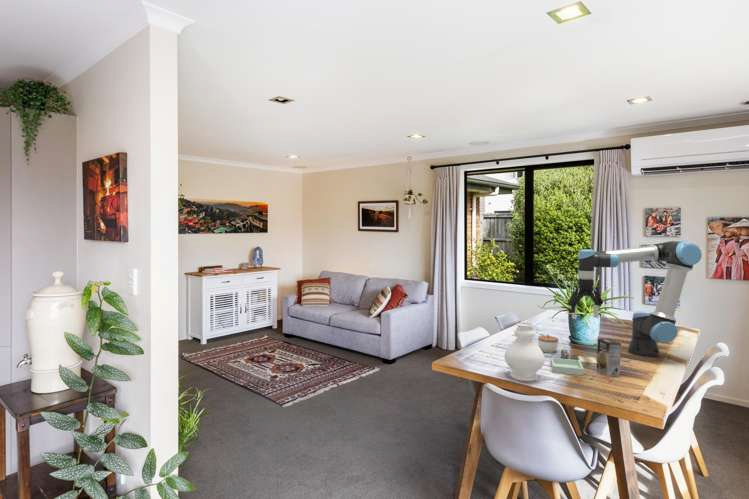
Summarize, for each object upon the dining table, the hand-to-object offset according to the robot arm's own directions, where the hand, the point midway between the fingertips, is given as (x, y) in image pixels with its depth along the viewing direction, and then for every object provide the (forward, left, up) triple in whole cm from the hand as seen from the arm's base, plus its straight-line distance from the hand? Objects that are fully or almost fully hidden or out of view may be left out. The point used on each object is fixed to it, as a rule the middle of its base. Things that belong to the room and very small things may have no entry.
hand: (585, 318), depth 233 cm
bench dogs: (+10, +8, -22) cm, 26 cm away
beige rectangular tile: (-1, +8, -23) cm, 24 cm away
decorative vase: (+31, +40, -22) cm, 55 cm away
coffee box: (-8, +22, -22) cm, 32 cm away
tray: (+11, +22, -22) cm, 33 cm away
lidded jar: (+17, -9, -23) cm, 30 cm away
